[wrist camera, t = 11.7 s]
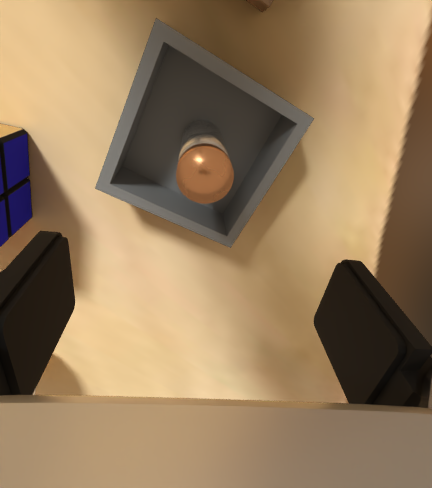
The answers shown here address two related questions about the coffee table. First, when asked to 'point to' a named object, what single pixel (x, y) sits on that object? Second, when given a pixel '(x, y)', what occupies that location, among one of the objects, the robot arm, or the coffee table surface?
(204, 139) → the copper topped cylinder
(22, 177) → the puzzle cube
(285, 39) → the coffee table surface
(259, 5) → the stud mount
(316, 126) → the coffee table surface
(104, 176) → the bin
